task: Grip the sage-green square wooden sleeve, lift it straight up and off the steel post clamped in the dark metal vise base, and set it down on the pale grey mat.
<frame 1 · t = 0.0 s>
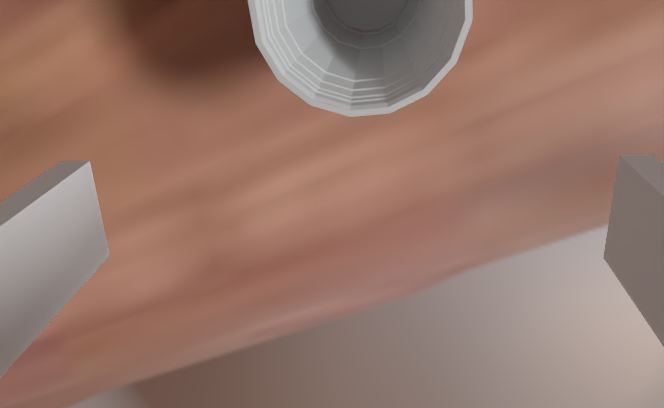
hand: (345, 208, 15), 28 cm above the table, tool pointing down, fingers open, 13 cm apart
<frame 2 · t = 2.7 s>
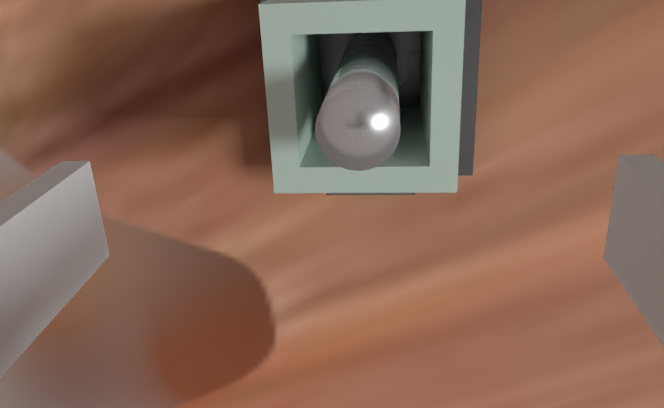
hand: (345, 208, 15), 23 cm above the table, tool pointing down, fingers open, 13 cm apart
vise post: (371, 53, 36), on the table
sleeve: (370, 59, 34), point 2 cm above the table, touching vise post
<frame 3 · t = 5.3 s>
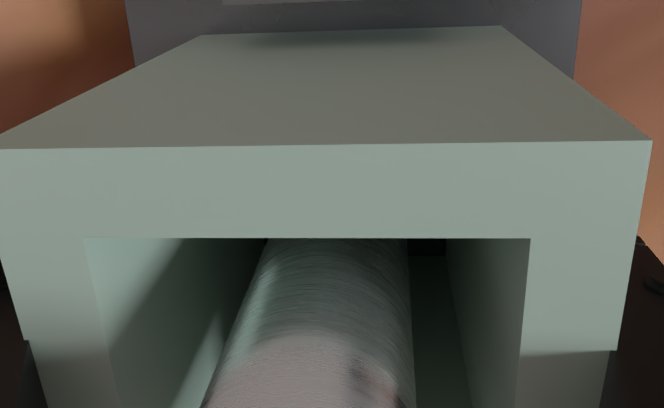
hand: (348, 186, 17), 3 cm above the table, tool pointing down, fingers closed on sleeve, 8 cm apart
vise post: (354, 149, 20), on the table
sleeve: (351, 171, 18), point 2 cm above the table, touching gripper, vise post
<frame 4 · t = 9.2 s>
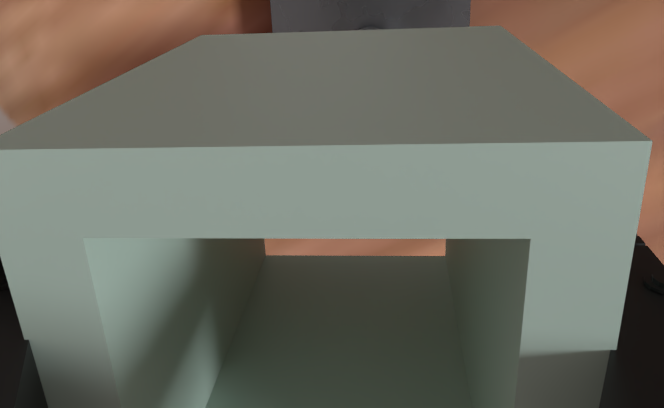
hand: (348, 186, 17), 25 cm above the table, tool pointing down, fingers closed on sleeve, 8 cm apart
vise post: (370, 46, 39), on the table
sleeve: (351, 171, 18), point 24 cm above the table, touching gripper
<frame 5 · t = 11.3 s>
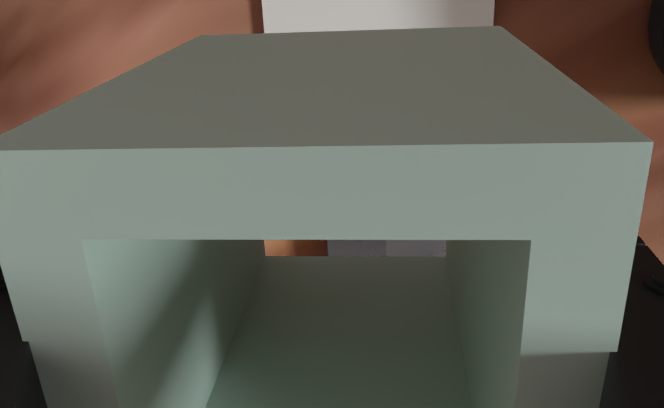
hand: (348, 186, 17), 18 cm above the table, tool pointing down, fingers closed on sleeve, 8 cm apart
vise post: (427, 297, 39), on the table
mat: (377, 61, 33), on the table
sleeve: (351, 171, 18), point 17 cm above the table, touching gripper
when the fingers open (3 cm above the table, at t = 13.2 s): sleeve drops 2 cm, resting on mat.
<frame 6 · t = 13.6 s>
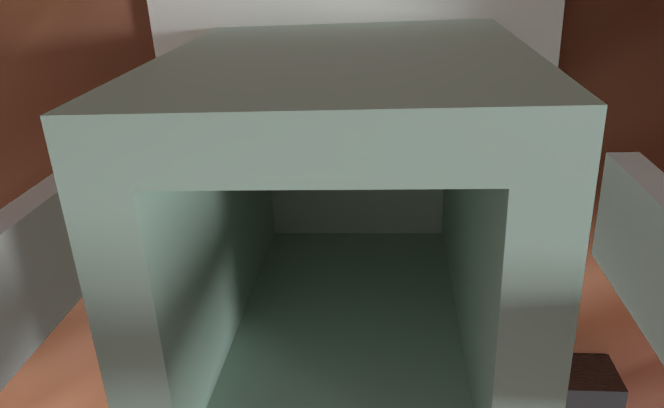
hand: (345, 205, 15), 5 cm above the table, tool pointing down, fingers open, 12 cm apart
mat: (355, 147, 20), on the table
sleeve: (355, 153, 19), point 1 cm above the table, touching mat
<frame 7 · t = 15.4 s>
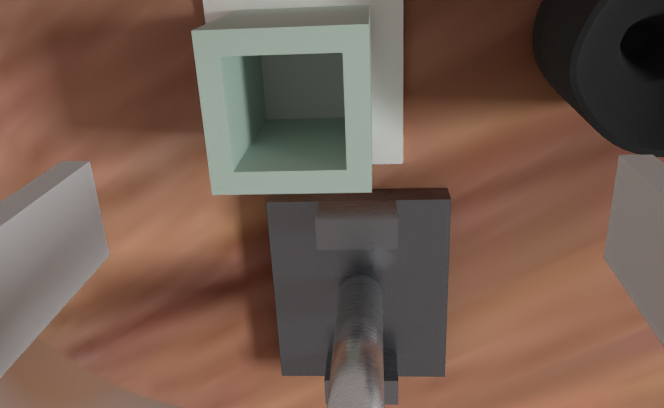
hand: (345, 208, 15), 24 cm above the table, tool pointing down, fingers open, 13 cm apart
vise post: (360, 279, 44), on the table
mat: (307, 72, 38), on the table
pen holder: (603, 29, 36), on the table
sleeve: (306, 74, 38), point 1 cm above the table, touching mat
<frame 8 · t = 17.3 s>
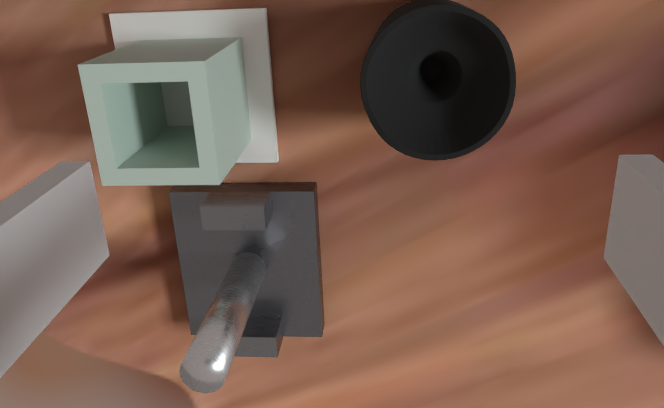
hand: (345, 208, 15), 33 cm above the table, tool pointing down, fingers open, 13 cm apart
vise post: (253, 256, 54), on the table
mat: (198, 89, 48), on the table
pen holder: (428, 56, 46), on the table
sleeve: (196, 91, 48), point 1 cm above the table, touching mat
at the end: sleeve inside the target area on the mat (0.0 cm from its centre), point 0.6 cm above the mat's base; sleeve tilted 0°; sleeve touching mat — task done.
